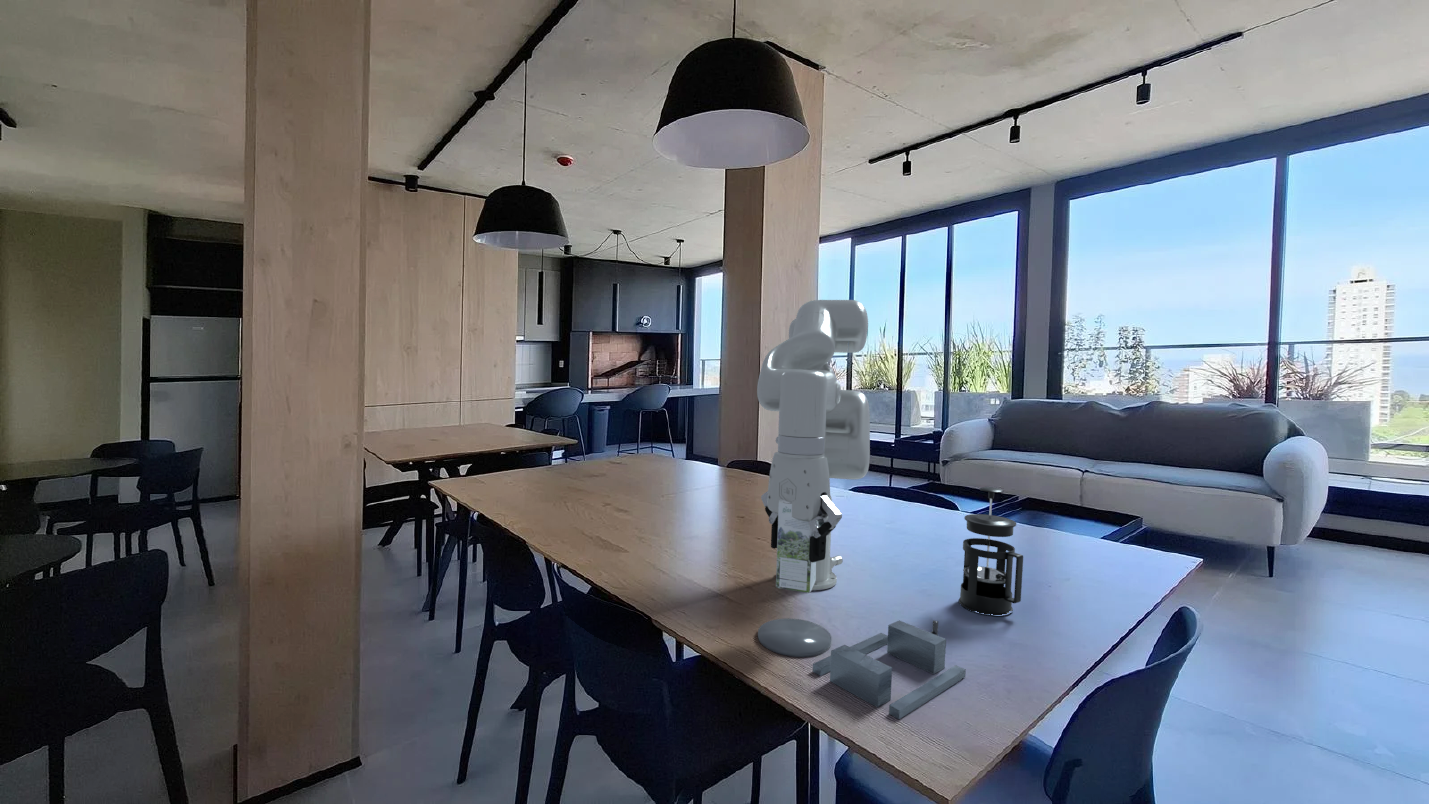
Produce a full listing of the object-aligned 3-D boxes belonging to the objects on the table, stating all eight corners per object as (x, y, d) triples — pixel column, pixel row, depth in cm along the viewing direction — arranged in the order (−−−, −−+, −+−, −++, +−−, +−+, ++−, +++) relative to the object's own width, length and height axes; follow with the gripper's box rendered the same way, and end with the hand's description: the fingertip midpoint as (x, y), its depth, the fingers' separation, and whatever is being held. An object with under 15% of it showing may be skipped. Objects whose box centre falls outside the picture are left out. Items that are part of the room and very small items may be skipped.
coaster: (792, 617, 104) (792, 612, 104) (846, 642, 94) (846, 637, 94) (742, 635, 96) (743, 630, 96) (796, 665, 87) (796, 659, 87)
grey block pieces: (896, 632, 98) (897, 605, 98) (979, 668, 87) (981, 637, 87) (812, 671, 85) (813, 640, 85) (899, 719, 74) (900, 684, 73)
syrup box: (816, 582, 96) (819, 496, 96) (810, 594, 91) (813, 503, 90) (782, 577, 98) (785, 493, 97) (774, 589, 93) (777, 499, 92)
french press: (945, 600, 113) (951, 484, 112) (975, 592, 118) (981, 481, 117) (1002, 624, 103) (1009, 497, 102) (1031, 613, 108) (1039, 492, 107)
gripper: (747, 441, 98) (744, 544, 99) (828, 455, 84) (823, 573, 85) (778, 439, 102) (775, 537, 103) (859, 451, 89) (855, 563, 90)
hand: (797, 552), depth 94 cm, fingers closed on syrup box, 7 cm apart
